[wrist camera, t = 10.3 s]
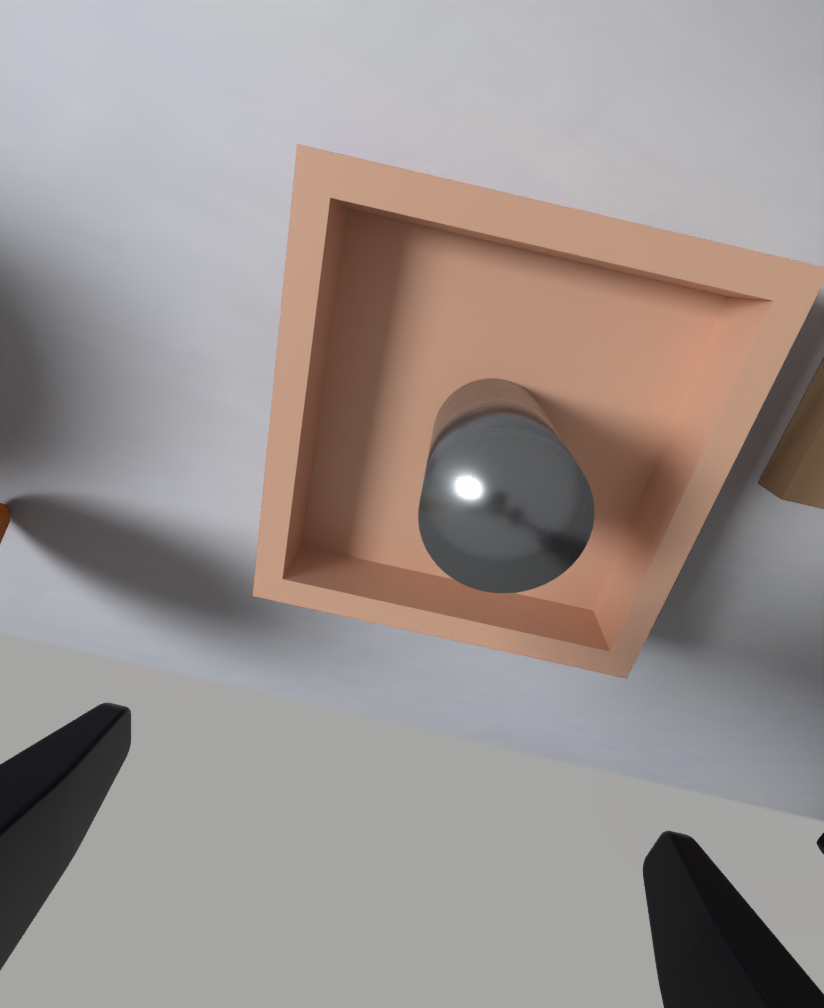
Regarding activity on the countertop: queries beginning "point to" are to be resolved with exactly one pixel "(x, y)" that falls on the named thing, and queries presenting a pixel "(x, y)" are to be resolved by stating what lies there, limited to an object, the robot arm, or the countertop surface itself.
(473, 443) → the gunmetal pin
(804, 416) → the walnut collar
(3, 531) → the carrot
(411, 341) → the terracotta tray
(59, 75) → the countertop surface
